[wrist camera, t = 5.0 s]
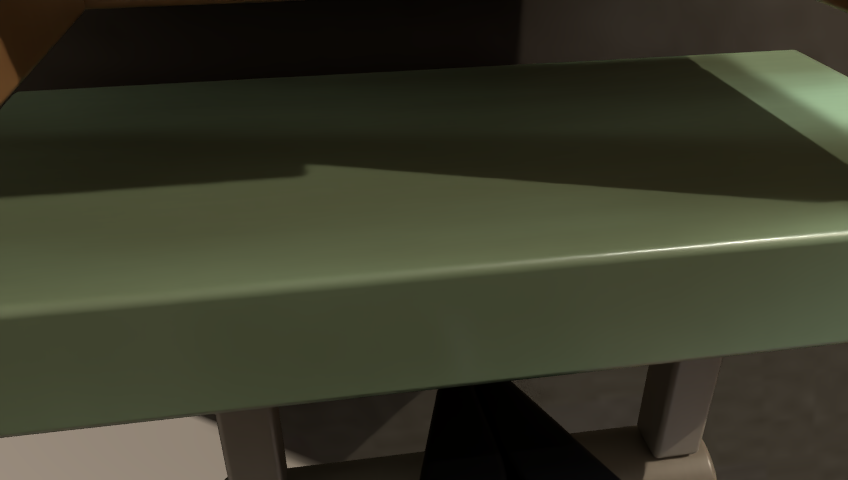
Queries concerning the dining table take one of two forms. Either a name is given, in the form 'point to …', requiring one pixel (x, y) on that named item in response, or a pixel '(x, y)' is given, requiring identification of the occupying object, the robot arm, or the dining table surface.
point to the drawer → (411, 239)
